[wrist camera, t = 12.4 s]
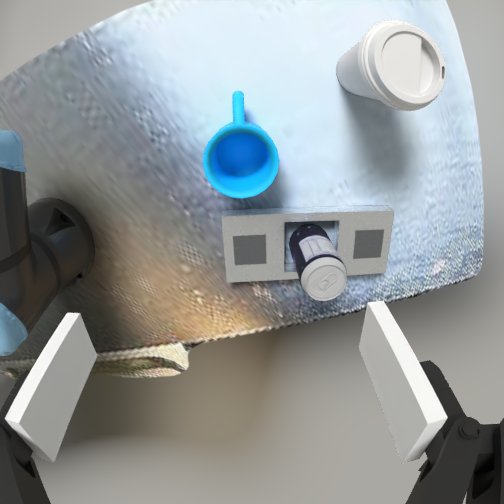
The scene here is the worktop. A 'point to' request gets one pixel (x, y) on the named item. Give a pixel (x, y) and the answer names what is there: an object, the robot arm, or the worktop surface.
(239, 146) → the mug
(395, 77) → the coffee cup
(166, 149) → the worktop surface
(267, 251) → the white compartment tray
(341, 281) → the beverage can
